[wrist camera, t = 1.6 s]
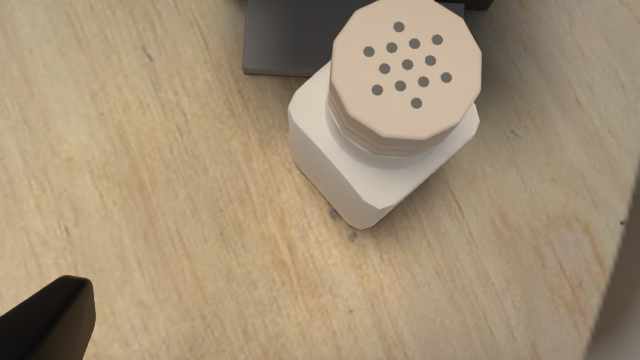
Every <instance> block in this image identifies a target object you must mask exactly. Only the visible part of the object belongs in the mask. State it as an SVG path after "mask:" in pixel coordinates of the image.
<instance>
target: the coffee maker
mask: <svg viewBox="0 0 640 360" xmlns="http://www.w3.org/2000/svg"><path fill="white" fill-rule="evenodd" d="M376 1H378V0H247V7H246V20H245V34H244V47H243V61H242V69H243V72H244V73H247V74H266V75H284V76H303V77H312V76H313V75H314V74H315V73H316V72H318V71H319V70H320V69H321V68H322V67H323V66H325V65H326V64H327V63H328V62H329V61H330V60H331V58H332V50H333V42H334V40H335V39H336V37H337V36H338V35H339V33H340V32H341V30H342V29H343V28H344V26H345V25H346V23H347V22H348V21H349V19H350V18H351V16H352V15H353V14H354V12H355V11H356V10H358V9H361V8H363V7H365V6H367V5H369V4H372V3H374V2H376ZM434 1H435V2H437V3H439V4H440V5H442V6H443V7H445V8H447V9H448V10H450V11H451V12H453V13H454V14H456V15H458V16H459V17H461V18H462V19H463V20H464V9H467V10H485V11H486V10H488V8H489V7H490V5H491V4H492V2H493V1H494V0H434Z"/></svg>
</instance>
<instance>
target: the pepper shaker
mask: <svg viewBox="0 0 640 360" xmlns="http://www.w3.org/2000/svg"><path fill="white" fill-rule="evenodd" d="M481 64H482V52H481V51H480V49H479V47H478V45H477V43H476V42H475V40H474V38H473V36H472V34H471V33H470V31H469V29H468V27H467V25H466V24H465V22H464V20H463V19H462V18H461V17H459V16H458V15H456V14H454V13H453V12H451V11H450V10H448V9H447V8H445V7H443V6H442V5H440V4H439V3H437V2H435V1H434V0H378V1H376V2H374V3H372V4H369V5H367V6H365V7H363V8H361V9H358V10H356V11H355V12H354V14H353V15H352V16H351V18H350V19H349V21H348V22H347V23H346V25H345V26H344V28H343V29H342V30H341V32H340V33H339V35H338V36H337V37H336V39H335V40H334V42H333V50H332V58H331V60H330V61H329V62H328V63H327V64H326V65H325V66H323V67H322V68H321V69H320V70H319V71H318V72H316V73H315V74H314V75H313V76H312V77H311V78H310V79H309V80H308V81H307V82H305V83H304V84H303V85H302V86H301V87H300V88H299V89H298V90H297V91H296V92H295V93H294V95H293V98H292V100H291V102H290V104H289V106H288V108H287V110H288V122H289V134H290V146H291V153H292V156H293V159H294V162H295V164H296V165H297V166H298V168H299V169H300V170H301V171H302V172H303V173H304V174H305V176H306V177H307V178H308V179H309V180H310V181H311V182H312V183H313V185H314V186H315V187H316V188H317V189H318V190H319V191H320V193H321V194H322V195H323V196H324V197H325V198H326V199H327V201H328V202H329V203H330V204H331V205H332V206H333V207H334V209H335V210H336V211H337V212H338V213H339V214H340V215H341V217H342V218H343V219H344V220H345V221H346V222H347V223H348V224H349V225H351V226H353V227H355V228H357V229H359V230H363V229H366V228H369V227H372V226H374V225H375V224H376V223H377V222H378V221H379V220H381V219H382V218H383V217H384V216H385V215H386V214H387V213H388V212H390V211H391V210H392V209H393V208H394V207H395V206H396V205H398V204H399V203H400V202H401V201H402V200H403V199H404V198H406V197H407V196H408V195H409V194H410V193H411V192H412V191H414V190H415V189H416V188H417V187H418V186H419V185H420V184H421V183H423V182H424V181H425V180H426V179H427V178H428V177H429V176H431V175H432V174H433V173H434V172H435V171H436V170H437V169H438V168H440V167H441V166H442V165H443V164H444V163H445V162H446V161H447V160H449V159H450V158H451V157H452V156H453V155H454V154H455V153H456V152H458V151H459V150H460V149H461V148H462V147H463V146H464V145H465V144H467V143H468V142H469V141H470V140H471V139H472V138H473V137H474V136H475V134H476V131H477V129H478V126H479V124H480V120H479V117H478V113H477V109H476V106H475V104H474V101H475V99H476V98H477V96H478V95H479V93H480V92H481Z"/></svg>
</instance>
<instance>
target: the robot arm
mask: <svg viewBox="0 0 640 360" xmlns="http://www.w3.org/2000/svg"><path fill="white" fill-rule="evenodd" d="M95 321H96V312H95V302H94V293H93V285H92V282H91V281H90V280H89V279H87V278H82V277H77V276H71V275H64V276H61V277H59V278H57V279H56V280H54V281H53V282H51V283H50V284H48V285H47V286H46V287H44V288H43V289H41V290H40V291H38V292H37V293H35V294H34V295H32V296H31V297H29V298H28V299H26V300H25V301H23V302H22V303H20V304H19V305H17V306H16V307H14V308H13V309H11V310H10V311H8V312H7V313H5V314H4V315H2V316H1V317H0V360H82V359H83V356H84V354H85V351H86V348H87V346H88V343H89V340H90V338H91V335H92V333H93V330H94V326H95Z"/></svg>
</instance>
